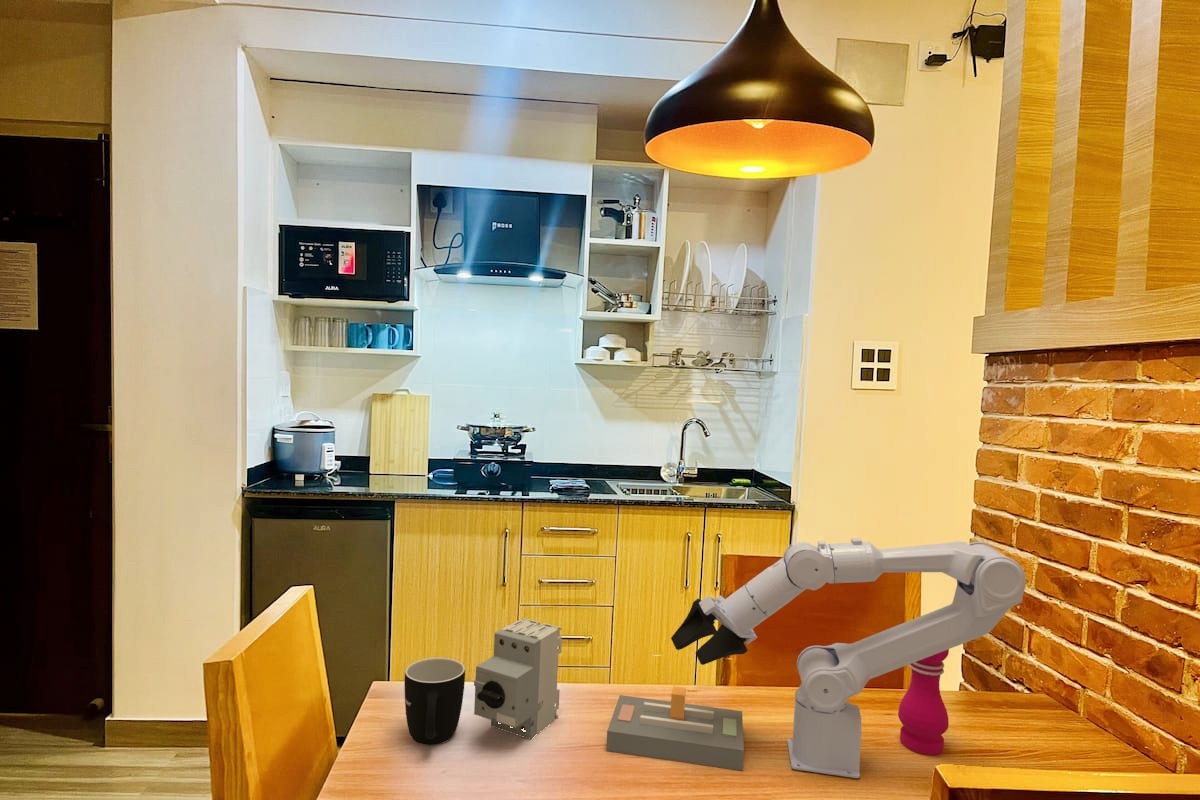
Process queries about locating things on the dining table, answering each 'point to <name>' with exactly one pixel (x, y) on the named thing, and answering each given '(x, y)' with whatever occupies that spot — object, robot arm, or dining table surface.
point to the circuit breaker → (520, 678)
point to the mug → (433, 699)
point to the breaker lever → (678, 703)
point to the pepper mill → (924, 707)
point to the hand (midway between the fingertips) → (686, 651)
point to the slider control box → (677, 733)
